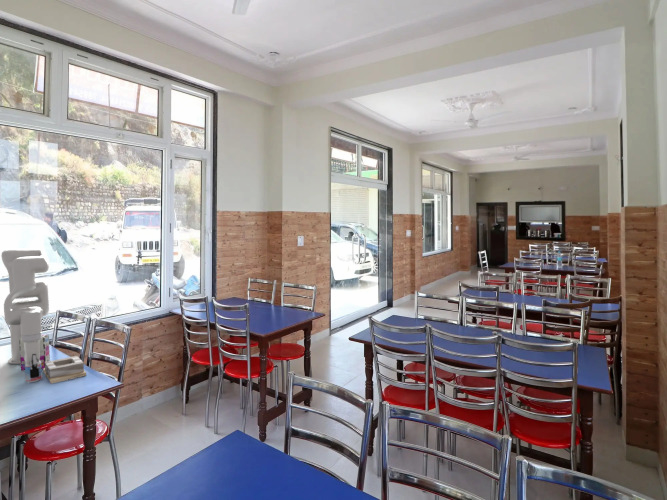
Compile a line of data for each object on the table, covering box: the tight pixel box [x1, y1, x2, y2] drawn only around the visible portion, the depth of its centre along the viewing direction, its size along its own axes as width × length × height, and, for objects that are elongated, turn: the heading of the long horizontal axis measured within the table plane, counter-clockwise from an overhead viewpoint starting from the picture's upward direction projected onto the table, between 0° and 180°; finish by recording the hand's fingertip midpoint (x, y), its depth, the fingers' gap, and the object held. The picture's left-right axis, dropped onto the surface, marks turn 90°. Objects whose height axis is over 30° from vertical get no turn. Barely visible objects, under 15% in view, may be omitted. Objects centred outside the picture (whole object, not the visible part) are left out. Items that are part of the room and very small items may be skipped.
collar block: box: [42, 355, 87, 385], centre depth 190 cm, size 20×14×6 cm
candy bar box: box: [19, 334, 51, 371], centre depth 196 cm, size 11×5×16 cm, turn 102°
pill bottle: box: [24, 361, 43, 383], centre depth 182 cm, size 6×6×11 cm
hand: (33, 374), depth 182 cm, fingers closed on pill bottle, 6 cm apart
